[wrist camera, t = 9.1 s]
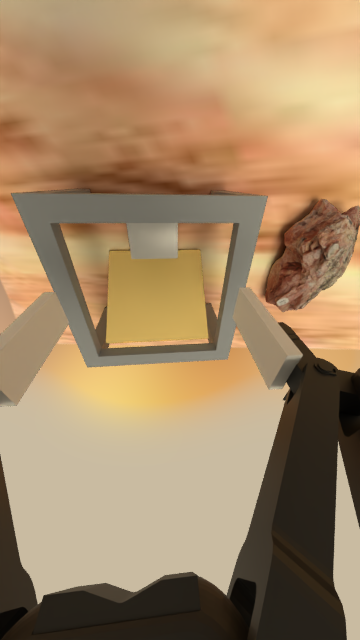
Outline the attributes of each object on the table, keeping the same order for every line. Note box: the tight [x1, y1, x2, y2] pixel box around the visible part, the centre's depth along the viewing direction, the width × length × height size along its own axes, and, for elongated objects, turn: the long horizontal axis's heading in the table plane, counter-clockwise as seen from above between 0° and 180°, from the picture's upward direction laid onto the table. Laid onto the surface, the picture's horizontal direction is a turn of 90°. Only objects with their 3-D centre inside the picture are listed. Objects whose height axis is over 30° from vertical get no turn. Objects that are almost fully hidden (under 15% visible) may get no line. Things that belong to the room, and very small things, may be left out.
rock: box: [265, 199, 360, 312], centre depth 28 cm, size 16×11×15 cm
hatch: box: [106, 250, 208, 344], centre depth 28 cm, size 14×14×1 cm
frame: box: [11, 189, 268, 367], centre depth 26 cm, size 20×20×12 cm
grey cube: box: [126, 223, 178, 259], centre depth 25 cm, size 6×6×6 cm
